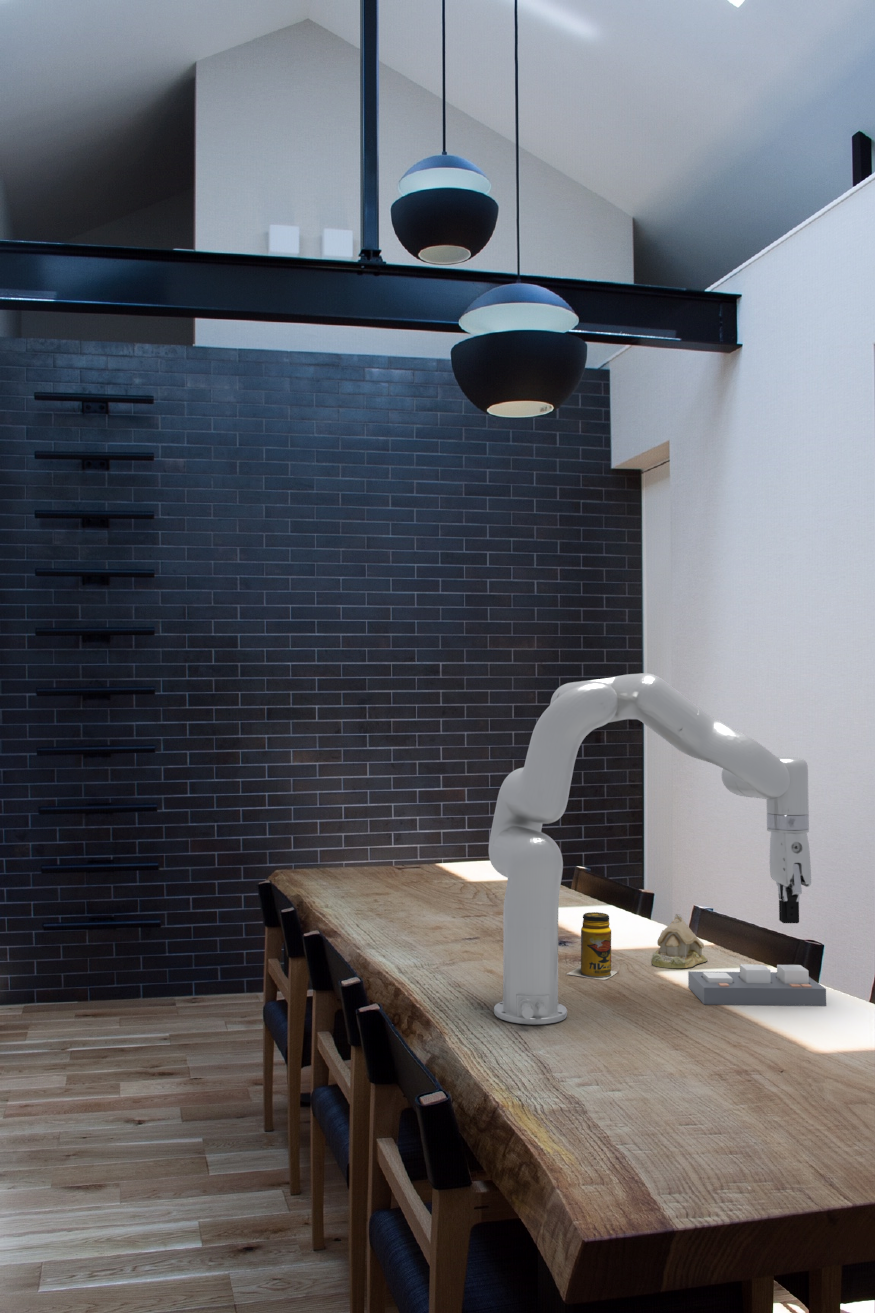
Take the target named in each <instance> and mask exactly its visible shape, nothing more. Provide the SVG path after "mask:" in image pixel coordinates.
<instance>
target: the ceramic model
mask: <svg viewBox="0 0 875 1313" xmlns="http://www.w3.org/2000/svg"><path fill="white" fill-rule="evenodd" d="M656 943H657V945H658V947H659V948H657V949H656V951H654V952H652V956H651V963H652V965H653V966H654V967H658V968H665V969H687V968H693V967H694V966H696V965H699V964H702V963H706V962H707V961H708V958H707V957H706V956H705V955H703V949H704V945H705V944H704V943H703V942H702V941H701V940H700V939H699V938H698V937H697V936H696V934H695V933H694V932H693V930H692V929H691V928H690V927H689V925H688V924H687V923H686V922H685V921H684V919H683V917H682V915H681V914H678V913H675V915H674V919H673V920H672V921H671V923H670V924H669V925H668V926H667V927H665V928H664V929H663V930H662V931H661V932H660V936H658V939H657V942H656Z"/></svg>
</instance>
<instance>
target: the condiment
mask: <svg viewBox="0 0 875 1313" xmlns="http://www.w3.org/2000/svg"><path fill="white" fill-rule="evenodd" d="M582 918H583V919H582V927H581V929H580V931H581V932H580V965H579V966H577V967H576V968H575V969H574V970H571V971H569V972H568V973H566V975H570V976H575V977H576V976H578V977H583V978H588V979H595V980H600V981H601V980H603V981H604V980H608V979H610V978H612V977H613V976H614V975H616V974H617V973H618V971H615V970H614V971H613V970H612V929H611V927H610V916H609V914H607V913H603V912H597V911H596V912H585V913H583V915H582Z"/></svg>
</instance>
